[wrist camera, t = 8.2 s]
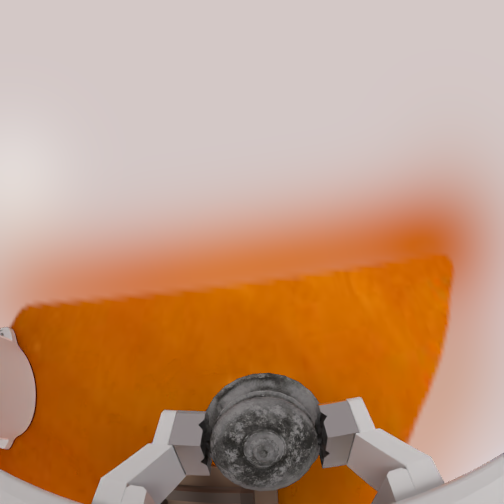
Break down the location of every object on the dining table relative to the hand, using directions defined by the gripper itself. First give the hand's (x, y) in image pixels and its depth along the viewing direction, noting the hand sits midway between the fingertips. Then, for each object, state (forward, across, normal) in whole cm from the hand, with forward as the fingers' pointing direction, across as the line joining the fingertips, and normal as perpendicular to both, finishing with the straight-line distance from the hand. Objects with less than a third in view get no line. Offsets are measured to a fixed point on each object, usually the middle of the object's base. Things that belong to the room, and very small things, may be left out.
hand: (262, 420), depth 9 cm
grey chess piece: (+5, 0, +6) cm, 8 cm away
